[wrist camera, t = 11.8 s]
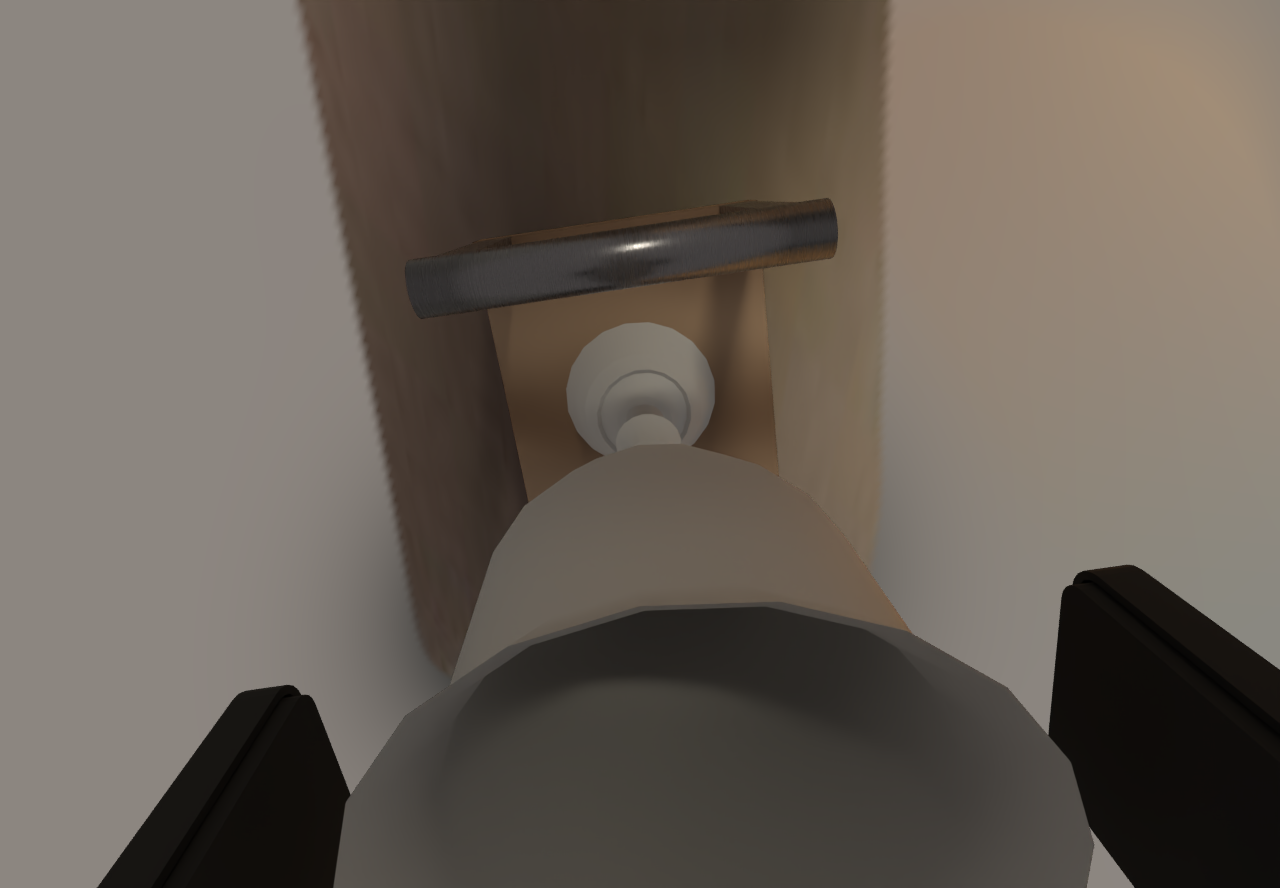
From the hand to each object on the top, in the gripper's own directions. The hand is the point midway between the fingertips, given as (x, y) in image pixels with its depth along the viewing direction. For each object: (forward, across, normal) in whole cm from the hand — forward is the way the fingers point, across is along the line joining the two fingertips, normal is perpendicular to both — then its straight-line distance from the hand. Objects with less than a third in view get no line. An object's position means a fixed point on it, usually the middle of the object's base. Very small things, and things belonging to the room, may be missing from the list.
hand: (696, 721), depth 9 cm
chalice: (+16, 0, 0) cm, 16 cm away
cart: (+20, 0, +1) cm, 20 cm away
